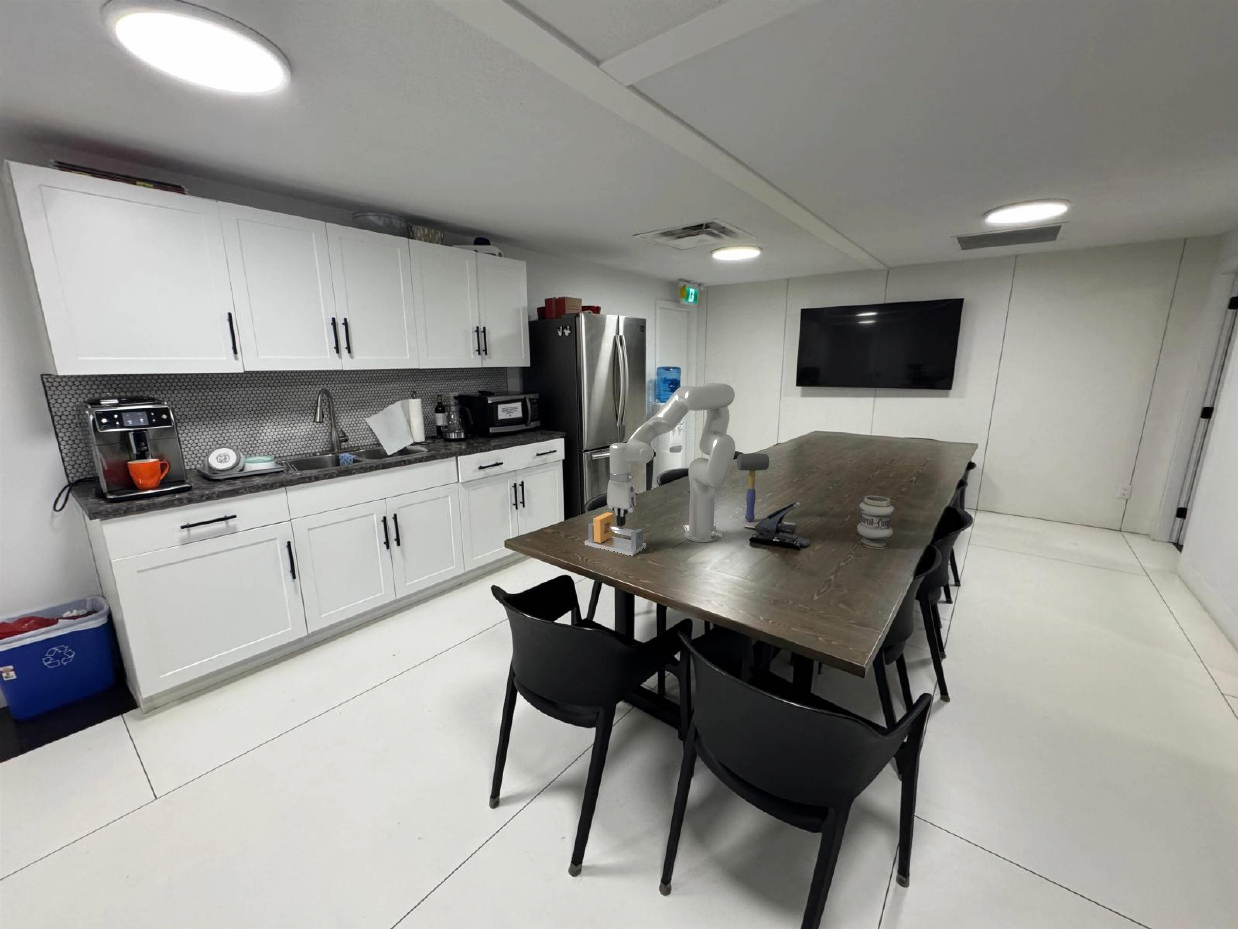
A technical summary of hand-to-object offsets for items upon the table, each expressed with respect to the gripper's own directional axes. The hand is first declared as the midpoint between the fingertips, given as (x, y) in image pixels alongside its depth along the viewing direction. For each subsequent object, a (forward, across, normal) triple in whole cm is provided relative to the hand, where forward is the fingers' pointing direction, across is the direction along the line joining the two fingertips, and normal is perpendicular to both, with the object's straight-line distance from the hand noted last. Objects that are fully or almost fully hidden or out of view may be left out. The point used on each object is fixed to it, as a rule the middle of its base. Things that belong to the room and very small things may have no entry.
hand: (621, 525), depth 177 cm
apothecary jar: (+10, -79, -53) cm, 95 cm away
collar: (+6, +8, 0) cm, 10 cm away
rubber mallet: (+9, -31, -56) cm, 64 cm away
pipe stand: (+8, +2, 0) cm, 9 cm away
